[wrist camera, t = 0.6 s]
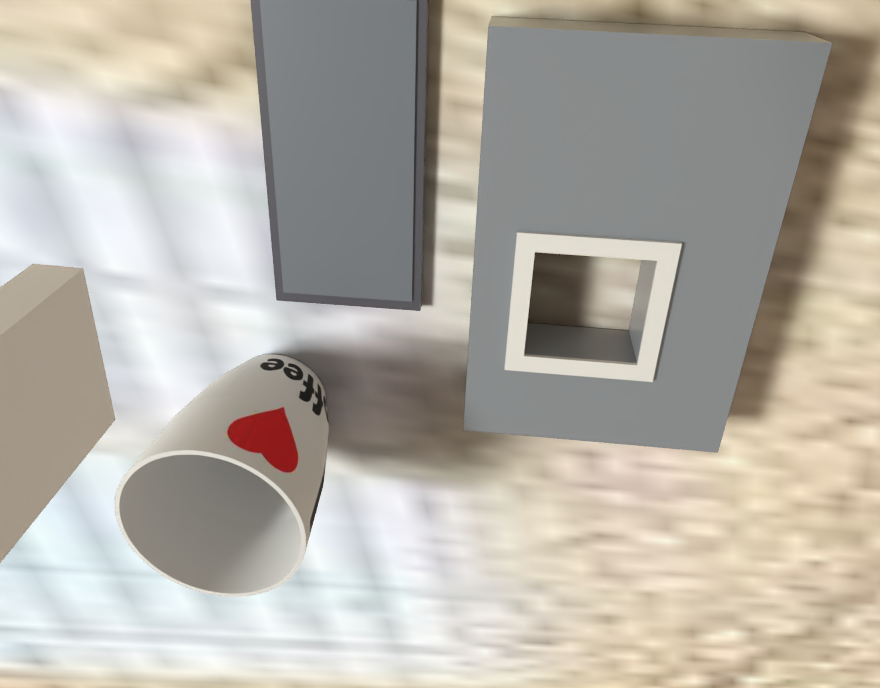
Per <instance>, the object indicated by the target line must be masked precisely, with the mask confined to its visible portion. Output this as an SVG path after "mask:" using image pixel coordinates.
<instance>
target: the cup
mask: <svg viewBox="0 0 880 688" xmlns="http://www.w3.org/2000/svg"><path fill="white" fill-rule="evenodd" d="M328 440H329V421H328V411H327V402H326V394H325V390H324V387H323V385H322V383H321V381H320V380H319V378H318V377H317V376H316V374H315V373H314V372H313V371H312V370H311V369H310V368H308V367H307V366H306V365H304V364H303V363H301V362H299V361H297V360H295V359H293V358H290V357H287V356H283V355H276V354H267V355H261V356H257V357H254V358H252V359H250V360H248V361H246V362H245V363H243V364H241V365H239V366H237V367H236V368H234V369H232V370H230V371H228V372H227V373H225V374H223V375H221V376H220V377H218V378H217V379H216V380H215V381H214V382H212V383H211V384H210V385H209V386H208V387H207V388H206V389H205V390H203V391H202V392H201V393H200V394H199V395H198V396H197V397H195V398H194V399H193V400H192V401H191V402H190V403H189V404H188V405H186V406H185V407H184V408H183V409H182V410H181V411H180V412H178V413H177V414H176V415H175V416H174V418H173V419H172V420H171V421H170V422H169V423H168V425H167V426H166V427H165V428H164V429H163V430H162V432H161V433H160V434H159V435H158V436H157V438H156V439H155V440H154V441H153V442H152V444H151V445H150V446H149V447H148V448H147V449H146V451H145V452H144V453H143V454H142V455H141V457H140V458H139V459H138V460H137V461H136V462H135V464H134V465H133V466H132V467H131V468H130V470H129V471H128V472H127V473H126V474H125V476H124V477H123V478H122V480H121V482H120V484H119V486H118V488H117V492H116V496H115V514H116V519H117V522H118V525H119V528H120V530H121V532H122V534H123V536H124V538H125V540H126V541H127V543H128V544H129V545H130V547H131V548H132V549H133V551H134V552H135V553H136V554H137V555H138V556H139V557H140V558H141V559H142V560H143V561H144V562H145V563H146V564H148V565H149V566H150V567H151V568H153V569H154V570H155V571H157V572H158V573H160V574H161V575H163V576H164V577H166V578H168V579H170V580H172V581H174V582H176V583H178V584H180V585H182V586H185V587H187V588H190V589H193V590H196V591H199V592H203V593H207V594H213V595H219V596H250V595H255V594H260V593H264V592H267V591H269V590H272V589H274V588H276V587H278V586H280V585H281V584H283V583H284V582H286V581H287V580H288V579H290V578H291V577H292V576H293V575H294V573H295V572H296V571H297V569H298V568H299V566H300V565H301V563H302V560H303V558H304V554H305V551H306V547H307V543H308V539H309V536H310V532H311V528H312V525H313V521H314V517H315V514H316V510H317V506H318V502H319V499H320V495H321V491H322V488H323V482H324V474H325V466H326V457H327V448H328Z"/></svg>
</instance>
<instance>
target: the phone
mask: <svg viewBox="0 0 880 688" xmlns="http://www.w3.org/2000/svg"><path fill="white" fill-rule="evenodd" d="M251 10H252V22H253V33H254V45H255V56H256V68H257V79H258V91H259V103H260V114H261V126H262V137H263V149H264V160H265V172H266V183H267V195H268V207H269V218H270V230H271V241H272V253H273V264H274V276H275V287H276V299H277V300H279V301H293V302H307V303H320V304H334V305H348V306H361V307H375V308H389V309H402V310H416V311H420V310H421V306H422V276H423V233H424V190H425V147H426V104H427V61H428V18H429V0H251Z"/></svg>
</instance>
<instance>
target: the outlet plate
mask: <svg viewBox="0 0 880 688" xmlns="http://www.w3.org/2000/svg"><path fill="white" fill-rule="evenodd" d="M831 46H832V43H831V42H829V41H826V40H824V39H821V38H819V37H816V36H814V35H811V34H809V33H806V32H799V31H778V30H758V29H738V28H717V27H697V26H676V25H656V24H636V23H615V22H595V21H575V20H554V19H534V18H513V17H493V16H492V17H491V20H490V23H489V26H488V40H487V56H486V72H485V88H484V104H483V121H482V137H481V153H480V169H479V185H478V201H477V217H476V233H475V249H474V265H473V281H472V297H471V313H470V329H469V345H468V362H467V378H466V394H465V410H464V426H463V430H466V431H478V432H489V433H501V434H512V435H524V436H535V437H546V438H558V439H569V440H581V441H592V442H604V443H615V444H626V445H638V446H649V447H661V448H672V449H683V450H695V451H706V452H718V450H719V447H720V443H721V440H722V436H723V432H724V429H725V425H726V422H727V418H728V415H729V411H730V407H731V404H732V400H733V397H734V393H735V390H736V386H737V382H738V379H739V375H740V372H741V368H742V365H743V361H744V357H745V354H746V350H747V347H748V343H749V339H750V336H751V332H752V329H753V325H754V322H755V318H756V314H757V311H758V307H759V304H760V300H761V297H762V293H763V289H764V286H765V282H766V279H767V275H768V272H769V268H770V264H771V261H772V257H773V254H774V250H775V247H776V243H777V239H778V236H779V232H780V229H781V225H782V222H783V218H784V214H785V211H786V207H787V204H788V200H789V197H790V193H791V189H792V186H793V182H794V179H795V175H796V171H797V168H798V164H799V161H800V157H801V154H802V150H803V146H804V143H805V139H806V136H807V132H808V129H809V125H810V121H811V118H812V114H813V111H814V107H815V104H816V100H817V96H818V93H819V89H820V86H821V82H822V79H823V75H824V71H825V68H826V64H827V61H828V57H829V54H830V50H831ZM535 252H539V253H553V254H567V255H582V256H596V257H610V258H624V259H638V260H642V261H641V267H640V272H639V278H638V283H637V288H636V294H635V299H634V305H633V310H632V315H631V321H630V326H629V331H627V330H614V329H601V328H588V327H575V326H562V325H549V324H536V323H527V322H528V313H529V303H530V294H531V284H532V275H533V266H534V256H535Z"/></svg>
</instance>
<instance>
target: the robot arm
mask: <svg viewBox="0 0 880 688" xmlns="http://www.w3.org/2000/svg"><path fill="white" fill-rule="evenodd" d="M114 421H115V415H114V411H113V406H112V401H111V397H110V392H109V387H108V383H107V378H106V373H105V369H104V364H103V359H102V355H101V350H100V345H99V341H98V336H97V331H96V326H95V322H94V317H93V312H92V308H91V303H90V298H89V294H88V289H87V284H86V280H85V275H84V270H83V268H73V267H62V266H51V265H40V264H32V265H31V266H29V267H28V268H27V269H25V270H24V271H22V272H21V273H20V274H18V275H17V276H16V277H14V278H13V279H11V280H10V281H9V282H7V283H6V284H4V285H3V286H2V287H0V563H1V561H2V560H3V559H4V558H5V556H6V555H7V554H8V553H9V552H10V550H11V549H12V548H13V547H14V545H15V544H16V543H17V542H18V540H19V539H20V538H21V537H22V535H23V534H24V533H25V532H26V530H27V529H28V528H29V527H30V525H31V524H32V523H33V522H34V520H35V519H36V518H37V517H38V515H39V514H40V513H41V512H42V510H43V509H44V508H45V507H46V505H47V504H48V503H49V502H50V500H51V499H52V498H53V497H54V495H55V494H56V493H57V492H58V490H59V489H60V488H61V487H62V485H63V484H64V483H65V482H66V480H67V479H68V478H69V477H70V476H71V474H72V473H73V472H74V471H75V469H76V468H77V467H78V466H79V464H80V463H81V462H82V461H83V459H84V458H85V457H86V456H87V454H88V453H89V452H90V451H91V449H92V448H93V447H94V446H95V444H96V443H97V442H98V441H99V439H100V438H101V437H102V436H103V434H104V433H105V432H106V431H107V429H108V428H109V427H110V426H111V424H112V423H113V422H114Z"/></svg>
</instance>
